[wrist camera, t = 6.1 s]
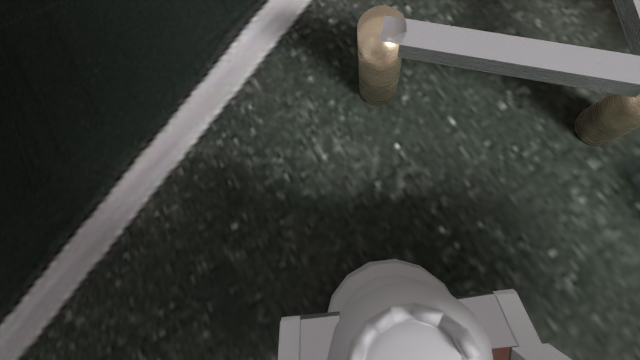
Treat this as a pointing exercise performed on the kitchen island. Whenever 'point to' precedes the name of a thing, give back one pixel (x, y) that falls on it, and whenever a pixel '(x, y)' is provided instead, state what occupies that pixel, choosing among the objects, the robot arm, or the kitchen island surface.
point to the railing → (508, 63)
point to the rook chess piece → (402, 317)
